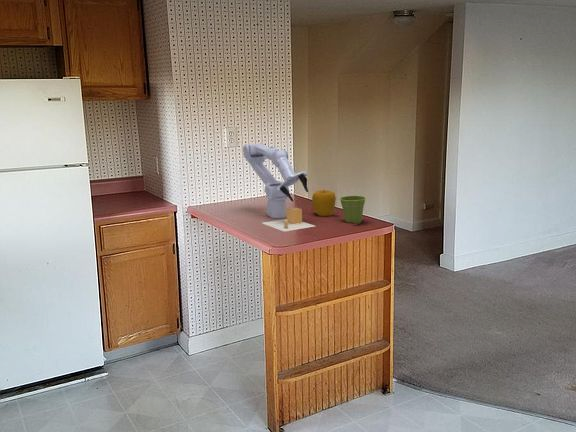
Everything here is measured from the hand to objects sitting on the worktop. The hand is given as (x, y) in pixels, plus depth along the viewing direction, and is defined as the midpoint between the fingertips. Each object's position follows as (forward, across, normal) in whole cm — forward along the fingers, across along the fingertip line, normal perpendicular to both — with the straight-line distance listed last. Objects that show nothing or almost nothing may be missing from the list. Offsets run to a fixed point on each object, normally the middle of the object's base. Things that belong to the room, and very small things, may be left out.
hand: (299, 195), depth 249 cm
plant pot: (+15, +13, +19) cm, 28 cm away
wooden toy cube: (+5, -9, +9) cm, 13 cm away
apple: (+2, +2, +25) cm, 26 cm away
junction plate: (+7, -12, +5) cm, 15 cm away
